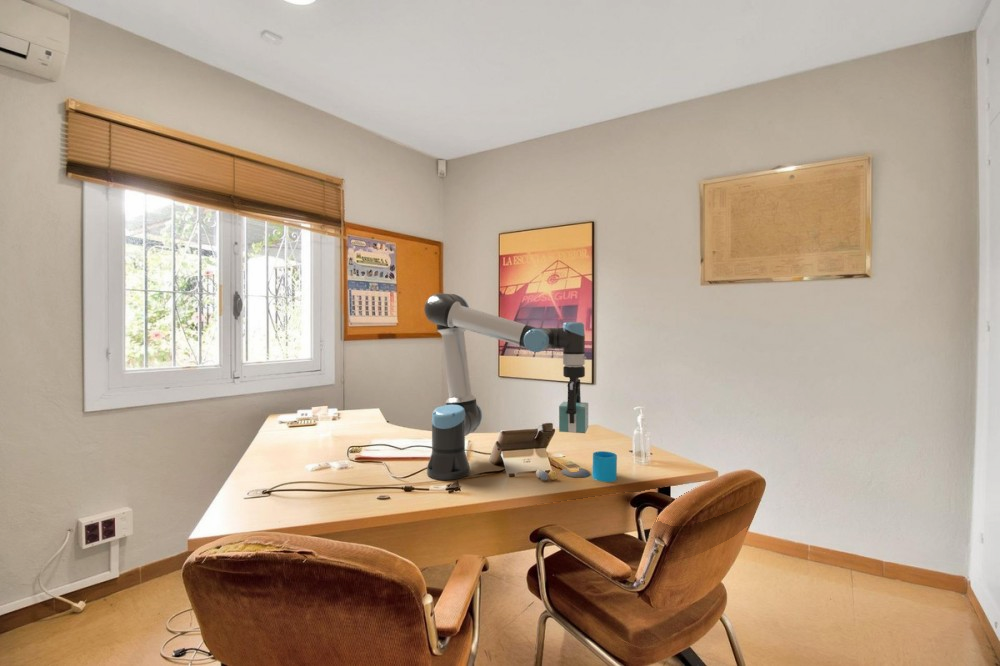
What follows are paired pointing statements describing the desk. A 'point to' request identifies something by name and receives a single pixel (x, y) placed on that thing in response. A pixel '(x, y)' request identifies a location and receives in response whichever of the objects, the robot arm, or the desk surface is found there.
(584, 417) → the matte teal cube
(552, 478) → the marble amber
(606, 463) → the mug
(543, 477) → the marble slate
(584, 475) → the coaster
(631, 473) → the desk surface
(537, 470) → the marble white
